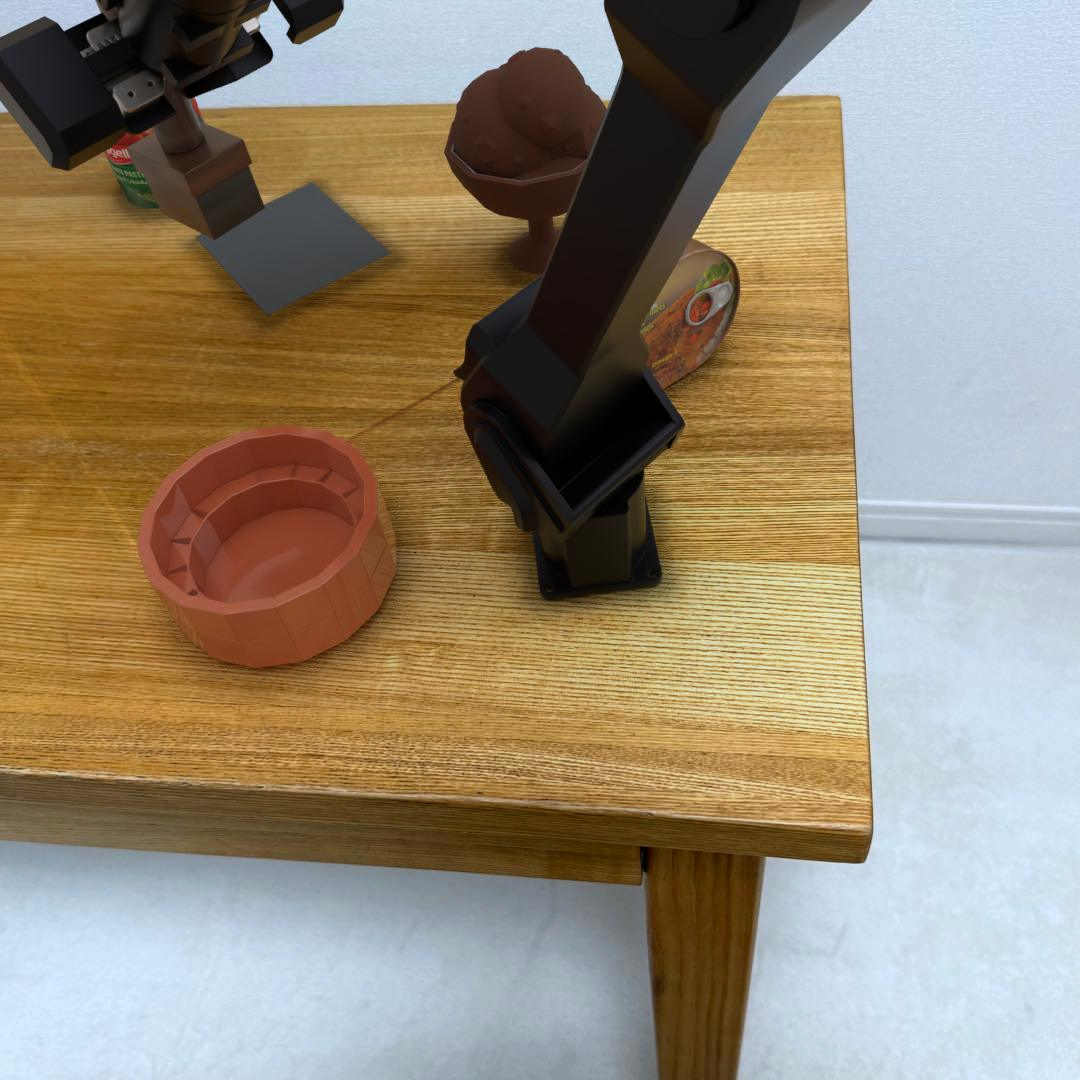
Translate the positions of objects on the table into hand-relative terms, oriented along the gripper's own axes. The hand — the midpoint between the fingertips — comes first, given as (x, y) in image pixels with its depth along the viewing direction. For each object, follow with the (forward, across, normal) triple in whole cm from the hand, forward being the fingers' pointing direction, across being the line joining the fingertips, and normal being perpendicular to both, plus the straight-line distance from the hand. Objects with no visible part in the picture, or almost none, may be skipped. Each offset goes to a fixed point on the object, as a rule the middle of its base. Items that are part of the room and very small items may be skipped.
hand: (155, 104), depth 64 cm
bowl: (-5, +12, +26) cm, 29 cm away
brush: (+3, 0, +6) cm, 7 cm away
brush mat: (+12, -6, +10) cm, 16 cm away
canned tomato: (+22, -6, -1) cm, 23 cm away
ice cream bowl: (+1, -17, +20) cm, 27 cm away
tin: (-9, -11, +30) cm, 33 cm away
